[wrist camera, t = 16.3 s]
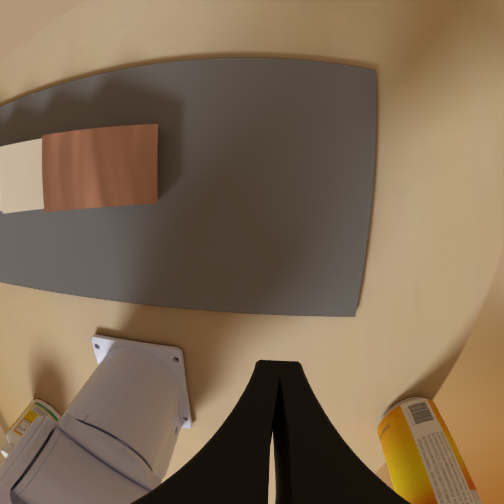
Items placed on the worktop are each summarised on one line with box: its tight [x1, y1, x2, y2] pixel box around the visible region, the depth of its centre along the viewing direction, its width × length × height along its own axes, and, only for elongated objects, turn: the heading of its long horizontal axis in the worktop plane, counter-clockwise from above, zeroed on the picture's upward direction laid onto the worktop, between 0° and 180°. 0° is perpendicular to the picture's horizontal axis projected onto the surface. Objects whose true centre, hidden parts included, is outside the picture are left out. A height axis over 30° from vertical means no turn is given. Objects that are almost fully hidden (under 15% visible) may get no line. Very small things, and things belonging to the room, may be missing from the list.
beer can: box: [377, 397, 482, 504], centre depth 16 cm, size 6×6×15 cm
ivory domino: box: [0, 138, 44, 214], centre depth 15 cm, size 2×4×7 cm
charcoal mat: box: [0, 58, 377, 317], centre depth 18 cm, size 16×34×1 cm, turn 88°
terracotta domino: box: [42, 124, 158, 212], centre depth 15 cm, size 2×4×7 cm
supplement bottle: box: [1, 399, 61, 458], centre depth 22 cm, size 5×5×10 cm
